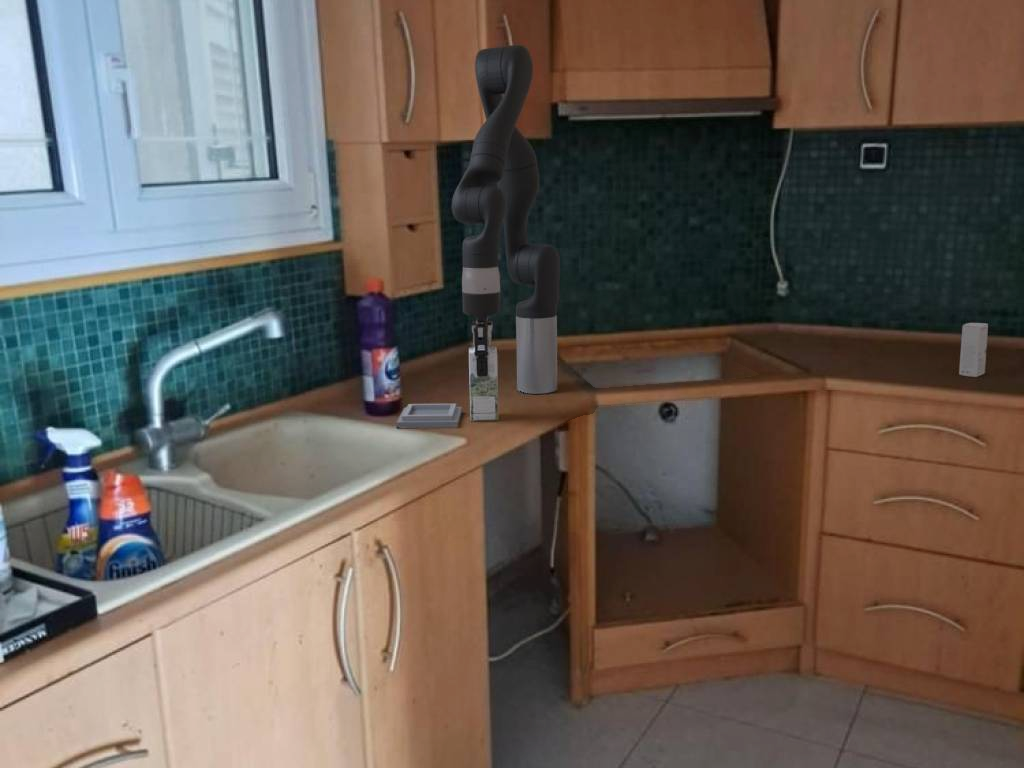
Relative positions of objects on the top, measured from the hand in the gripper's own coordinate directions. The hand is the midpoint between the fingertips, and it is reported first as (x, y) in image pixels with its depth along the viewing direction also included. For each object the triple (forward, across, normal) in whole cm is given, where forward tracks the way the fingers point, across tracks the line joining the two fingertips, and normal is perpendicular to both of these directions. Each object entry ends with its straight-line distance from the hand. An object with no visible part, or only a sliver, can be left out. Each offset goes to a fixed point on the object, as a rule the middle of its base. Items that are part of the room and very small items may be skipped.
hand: (483, 372), depth 189 cm
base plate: (+10, -1, +11) cm, 15 cm away
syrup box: (+10, 0, 0) cm, 10 cm away
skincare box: (+10, +36, -115) cm, 121 cm away
